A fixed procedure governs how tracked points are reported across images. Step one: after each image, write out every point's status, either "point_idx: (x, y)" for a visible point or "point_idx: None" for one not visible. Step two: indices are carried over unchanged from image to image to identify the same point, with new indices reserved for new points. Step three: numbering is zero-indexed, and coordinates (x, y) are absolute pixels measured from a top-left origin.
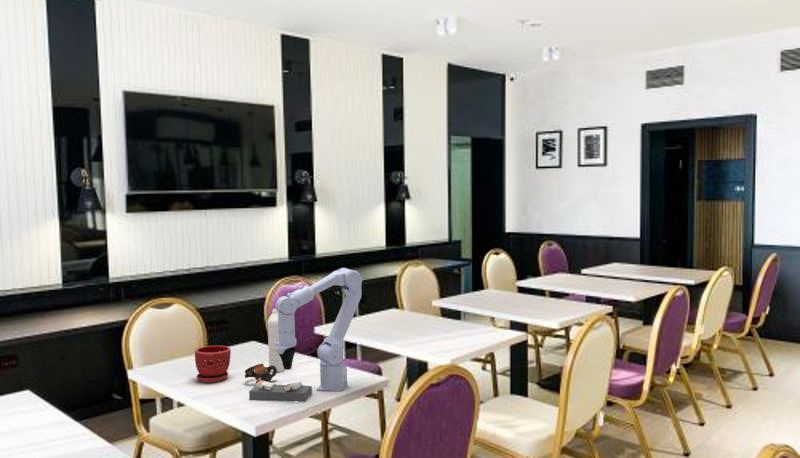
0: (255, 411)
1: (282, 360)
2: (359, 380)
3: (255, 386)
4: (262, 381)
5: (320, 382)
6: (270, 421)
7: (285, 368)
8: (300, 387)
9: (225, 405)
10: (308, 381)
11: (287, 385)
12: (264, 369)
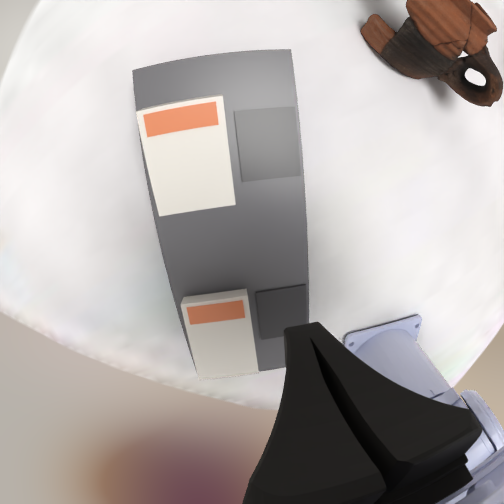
0: (30, 215)
1: (283, 397)
2: None
3: (234, 55)
4: (201, 120)
5: (381, 347)
6: (6, 314)
7: (284, 344)
8: (269, 338)
9: (55, 36)
10: (449, 246)
11: (208, 315)
12: (457, 42)
